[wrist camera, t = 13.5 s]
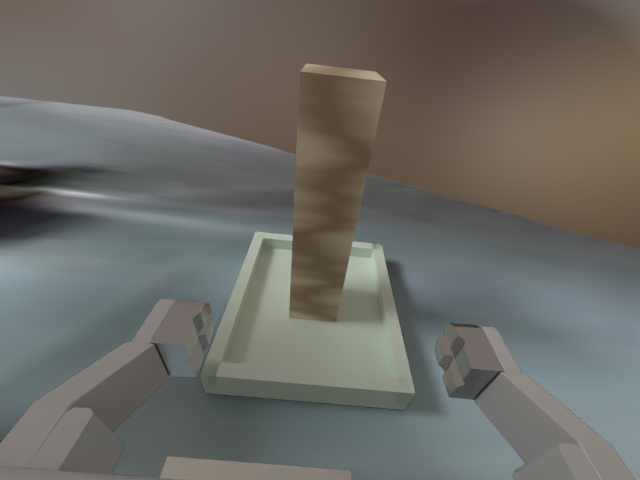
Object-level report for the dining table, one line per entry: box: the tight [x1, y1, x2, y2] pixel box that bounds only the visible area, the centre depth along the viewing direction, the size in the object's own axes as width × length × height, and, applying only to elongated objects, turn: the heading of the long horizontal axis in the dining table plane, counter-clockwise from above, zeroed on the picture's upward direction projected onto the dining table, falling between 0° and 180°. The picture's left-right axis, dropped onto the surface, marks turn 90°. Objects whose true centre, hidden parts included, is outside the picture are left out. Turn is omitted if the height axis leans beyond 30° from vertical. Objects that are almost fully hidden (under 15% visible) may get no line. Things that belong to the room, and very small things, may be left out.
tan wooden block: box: [289, 64, 386, 322], centre depth 20 cm, size 4×4×18 cm
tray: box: [200, 232, 415, 410], centre depth 25 cm, size 14×16×2 cm
